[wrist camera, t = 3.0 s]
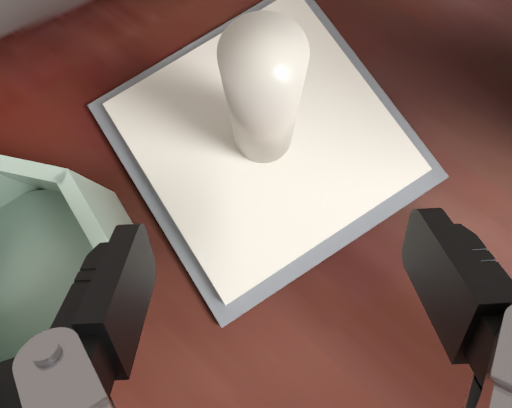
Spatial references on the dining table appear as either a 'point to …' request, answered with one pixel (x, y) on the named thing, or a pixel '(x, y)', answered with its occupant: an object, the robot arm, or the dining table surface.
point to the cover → (264, 143)
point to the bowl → (45, 242)
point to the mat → (312, 256)
